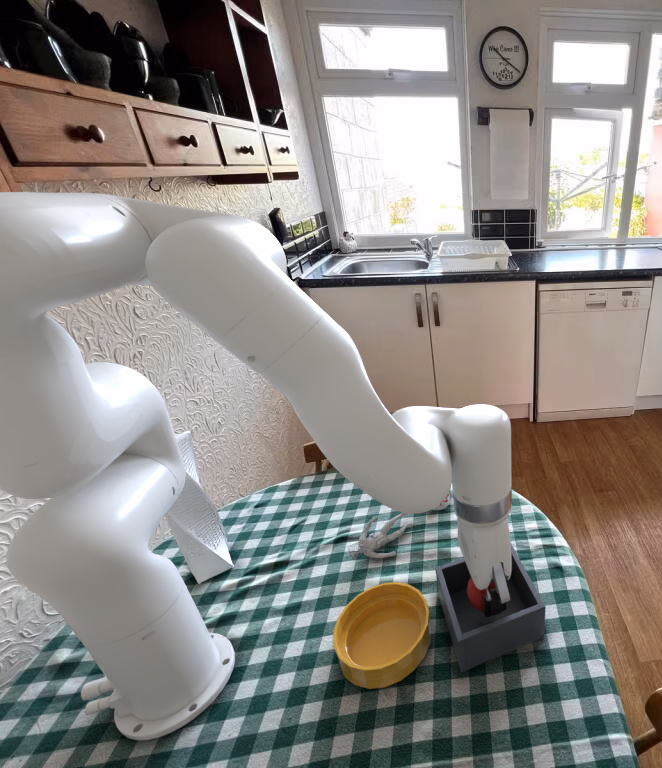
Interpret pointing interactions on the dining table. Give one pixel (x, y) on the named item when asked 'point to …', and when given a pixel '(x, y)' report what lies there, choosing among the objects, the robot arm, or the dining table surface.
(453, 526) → the dining table surface
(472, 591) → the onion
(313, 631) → the dining table surface
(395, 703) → the dining table surface
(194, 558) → the skyscraper
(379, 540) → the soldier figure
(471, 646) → the bin
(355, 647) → the bowl
